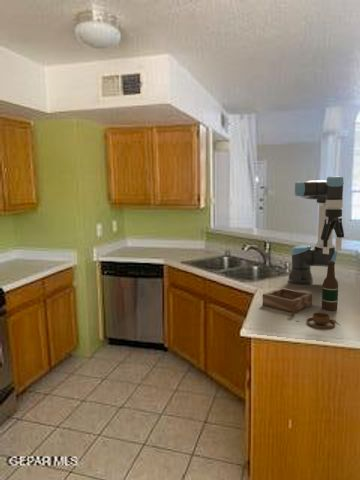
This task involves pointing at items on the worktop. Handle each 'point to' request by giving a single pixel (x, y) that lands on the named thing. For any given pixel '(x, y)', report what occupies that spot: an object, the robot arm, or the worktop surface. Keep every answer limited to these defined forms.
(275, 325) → the worktop surface
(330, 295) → the beer bottle
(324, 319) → the brown cup and saucer
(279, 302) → the caddy
